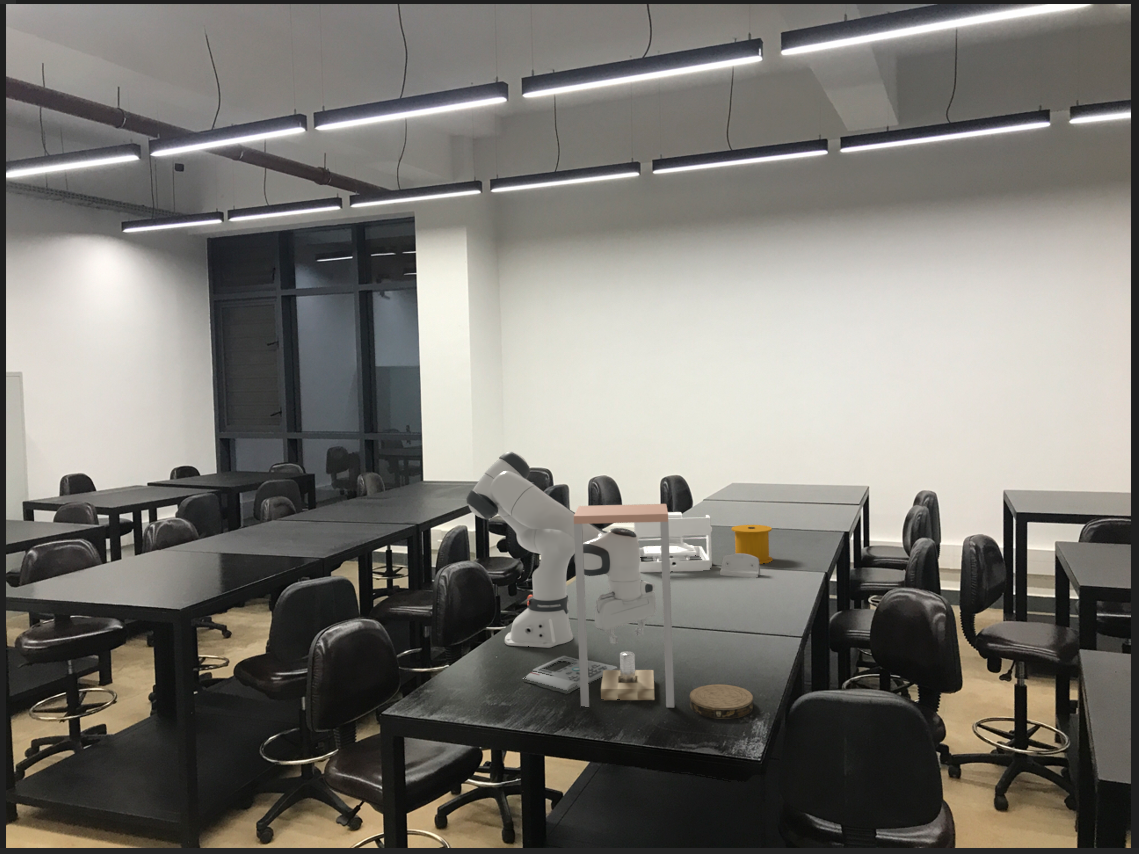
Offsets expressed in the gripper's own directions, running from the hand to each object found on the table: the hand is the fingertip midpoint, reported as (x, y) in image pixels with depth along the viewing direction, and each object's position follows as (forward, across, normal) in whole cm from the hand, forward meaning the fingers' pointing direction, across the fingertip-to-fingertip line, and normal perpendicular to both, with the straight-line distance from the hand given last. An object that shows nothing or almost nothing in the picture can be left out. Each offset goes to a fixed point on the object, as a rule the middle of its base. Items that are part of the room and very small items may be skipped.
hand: (626, 639), depth 221 cm
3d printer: (+14, +121, +96) cm, 155 cm away
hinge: (+14, +124, +60) cm, 138 cm away
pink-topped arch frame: (+14, -3, -2) cm, 15 cm away
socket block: (+14, 0, 0) cm, 14 cm away
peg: (+14, 0, 0) cm, 14 cm away
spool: (+14, +149, +73) cm, 167 cm away
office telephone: (+15, -4, +21) cm, 26 cm away
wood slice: (+15, +9, -25) cm, 30 cm away
